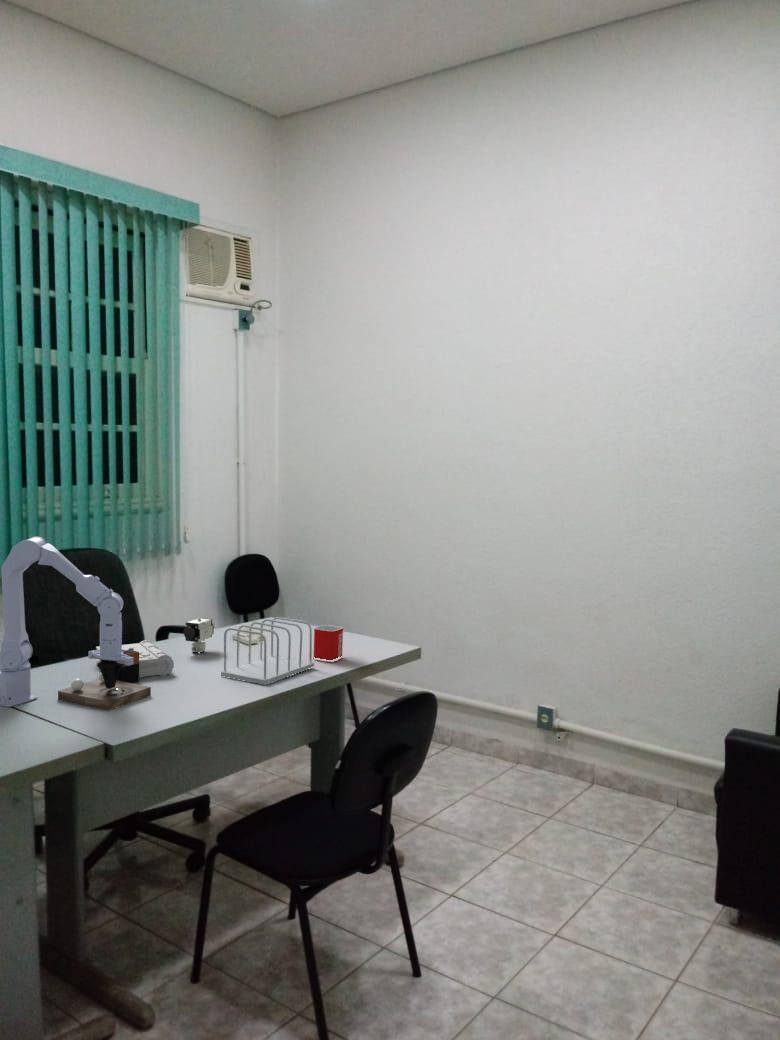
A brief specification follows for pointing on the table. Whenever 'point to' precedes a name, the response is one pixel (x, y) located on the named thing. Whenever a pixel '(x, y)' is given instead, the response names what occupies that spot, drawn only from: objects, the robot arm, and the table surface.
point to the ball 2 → (101, 677)
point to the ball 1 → (77, 684)
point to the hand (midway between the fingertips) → (110, 687)
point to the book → (149, 659)
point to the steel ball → (116, 691)
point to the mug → (328, 642)
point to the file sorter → (269, 666)
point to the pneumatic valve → (198, 633)
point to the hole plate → (104, 694)
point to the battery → (130, 668)
